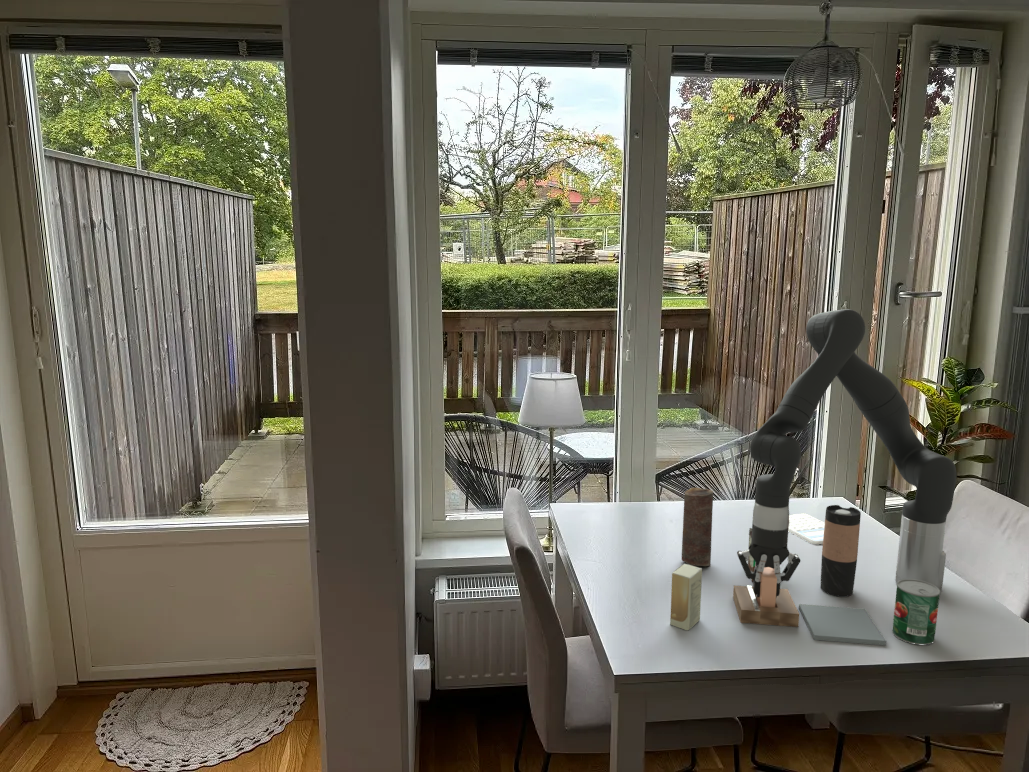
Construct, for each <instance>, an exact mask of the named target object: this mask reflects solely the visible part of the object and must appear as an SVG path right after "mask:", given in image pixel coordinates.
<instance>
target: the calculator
mask: <svg viewBox="0 0 1029 772" xmlns="http://www.w3.org/2000/svg"><path fill="white" fill-rule="evenodd" d="M789 520H790V522H789V529H788V531H789V532H788V533H790V532H791V533H790V534H792V533H793V534H792V535H794V536H796V537H798V538H800V539H801V540H803V539H804V540H803V541H805V540H806V541H805V542H807V541H808V543H809V544H811V545H814V546H819V544H821V545H823V537H824V526H825V521H822V520H820V519H818V518H816V517H814V516H811V515H810V514H807V513H803V512H802V513H794V514H789Z"/></svg>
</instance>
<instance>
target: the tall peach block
mask: <svg viewBox="0 0 1029 772" xmlns="http://www.w3.org/2000/svg"><path fill="white" fill-rule="evenodd" d="M760 582H761V585H760V597H757V596H756V600H757V602H758V605H759V606H762V607H775V602H776V586H777V577H776V575H774V571H773V570H772V568H770V567H766V568H764V571H763V573H762V574H761V580H760Z"/></svg>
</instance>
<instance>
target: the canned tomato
mask: <svg viewBox="0 0 1029 772" xmlns="http://www.w3.org/2000/svg"><path fill="white" fill-rule="evenodd" d="M940 595H941V591H940V590H939V589H938V588H937V587H936V586H934V585H933V584H930V583H928V582H924V581H920V580H915V579H903V580H900V581H898V582H897V583H896V591H895V601H894V603H895V604H894V611H893V619H892V620H893V621H892V629H891V633H892V635H893V634H894V635H893V636H896V637H895V638H897V639H898V638H899V639H898V640H900V639H901V640H900V641H902V640H903V641H902V642H904V641H906V642H905V643H907V642H909V643H908V644H910V643H915V644H930V643H932V642H934V643H935V640H936V639H935V637H936V629H937V620H938V613H939V612H938V611H939V603H940ZM932 644H933V643H932ZM930 645H931V644H930Z"/></svg>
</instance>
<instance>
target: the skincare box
mask: <svg viewBox="0 0 1029 772" xmlns="http://www.w3.org/2000/svg"><path fill="white" fill-rule="evenodd" d="M702 581H703V568H702V567H699V566H696V565H690V564H688V563H683V564H682V565H680V566H679V567H678V568H676V569H675V570H673V571H672V573H671V592H670V593H671V594H670V595H671V597H670V598H671V599H670V622H669V623H670V624H669V625H670V626H673V627H676V628H679V629H682V630H685V631H689V630H691V629H692V628H693V627H694V626H695V625H696V624H697V623H698V622H700V621H701V602H702Z"/></svg>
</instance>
